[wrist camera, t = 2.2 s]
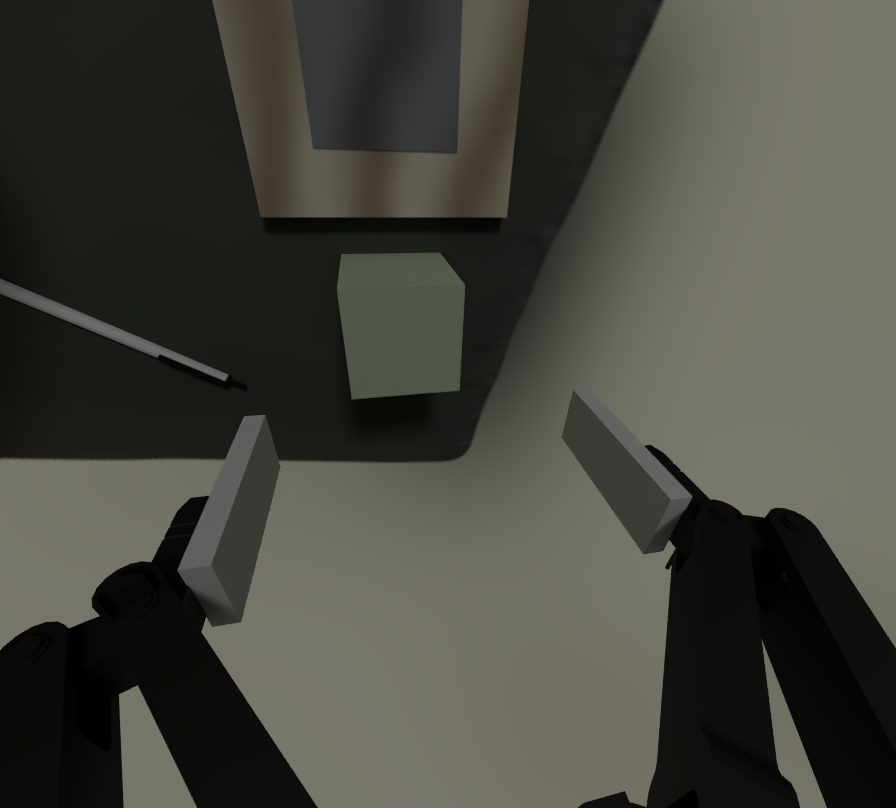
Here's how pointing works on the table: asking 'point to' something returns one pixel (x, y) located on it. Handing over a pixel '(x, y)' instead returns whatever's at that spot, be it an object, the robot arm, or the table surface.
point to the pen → (115, 334)
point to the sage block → (401, 323)
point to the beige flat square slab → (376, 103)
